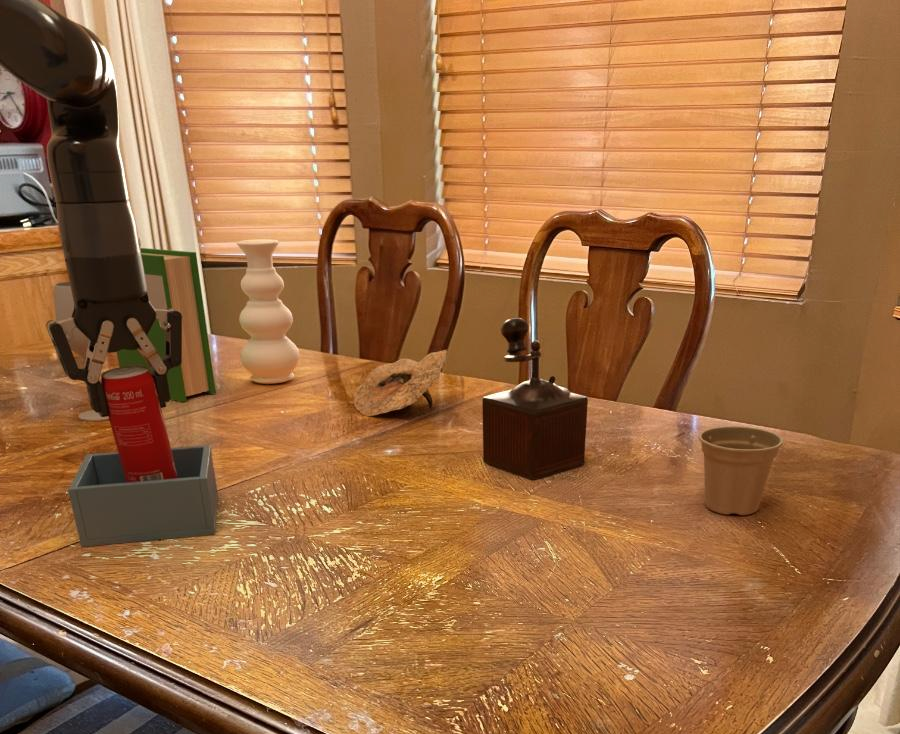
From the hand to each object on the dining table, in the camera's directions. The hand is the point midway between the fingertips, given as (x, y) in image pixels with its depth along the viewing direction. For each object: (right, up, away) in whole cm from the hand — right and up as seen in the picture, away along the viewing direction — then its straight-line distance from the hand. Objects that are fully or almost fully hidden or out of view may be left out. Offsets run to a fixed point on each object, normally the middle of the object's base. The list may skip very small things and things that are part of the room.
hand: (132, 410), depth 96 cm
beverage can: (0, -9, +5) cm, 11 cm away
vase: (+2, +20, +68) cm, 71 cm away
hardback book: (-16, +17, +62) cm, 66 cm away
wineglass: (-23, +10, +48) cm, 54 cm away
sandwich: (+27, +11, +49) cm, 57 cm away
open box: (0, -12, +6) cm, 13 cm away
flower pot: (+69, -10, +7) cm, 71 cm away
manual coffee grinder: (+46, -2, +25) cm, 52 cm away
